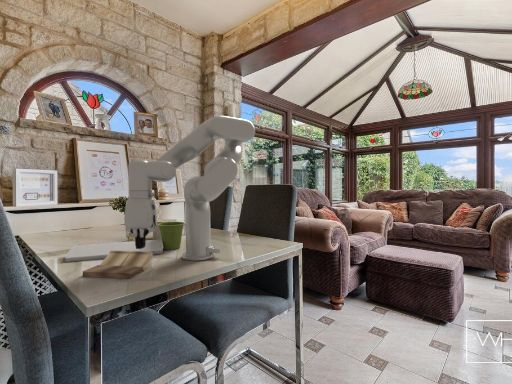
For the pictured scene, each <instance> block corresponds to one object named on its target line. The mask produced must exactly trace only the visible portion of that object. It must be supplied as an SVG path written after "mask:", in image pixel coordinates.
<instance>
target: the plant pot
mask: <svg viewBox="0 0 512 384" xmlns="http://www.w3.org/2000/svg"><path fill="white" fill-rule="evenodd" d="M185 225H186V222H183V221H164V222H160V223H157V226H158V228H159V231H160V236H161V239H162V244H163V250H169V251H171V250H177V249H180V248H181V242H182V237H183V230H184V226H185Z"/></svg>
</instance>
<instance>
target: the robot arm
mask: <svg viewBox="0 0 512 384" xmlns="http://www.w3.org/2000/svg"><path fill="white" fill-rule="evenodd" d="M255 135H256V128H255V126H254V124H253V123H252V121H250V120H248V119H244V118H237V117H232V116H226V115H215V116H212V117H210V118H208V119H207V120H205V121H203V122H202V123H201V124H200V125H198V126H197V127H196V128H195V129H193V130H192V131H191V132H190V133H188V134H187V135H186V136H185V137H184V138H182V139H181V140H180V141H179V142H177V143H176V144H175V145H174V146H173V147H171V148H170V149H169V150H168V151H166V152H165V153H164V154H163V155H162V156H160V157H158V158H157V159H156V160H155V161H154V160H153V161H148V160H145V159H143V160H141V159H134V160H133V159H132V160H130V161H129V162H128V176H127V177H128V199H127V200H126V202H125V208H124V219H123V220H124V229H125V231H126V232H129V233H131V234H132V236H133V237H134V241H135V246H136V249H142V248H144V247H145V245H146V241H147V240H146V239H147V236H148V235H149V234H150V233H153V232H155V231H156V226H158V214H157V213H158V212H157V206H156V202H155V199H152V198H153V197H155V196H156V193H155V192H153V181H154V182H157V183H165V182H170V181H172V180H173V179H174V178H175V177H176V174H177V169H178V168H180V167H181V166H183V165H184V164H186V163H188V162H190V161H193V160H194V159H197V158H198V157H199V156H200V155H201V154H202V153H203V152H204V151H205V150H206V149H208V148H209V147H210V146H212V144H214V143H215V142H216V141H217V140H220V139H222V138H223V139H224V146H223V148H222V149H221V150H220V152H219V153H218V154H217V155H215V156H214V157H213V159H211V160H210V161H209V162H208V163H207V164H206V166H205V168H204V175H202V176H201V175H200V176H194V177H191V178H189V179H188V180H187V181H186V182H185V183H184V186H183V197H184V203H185V204H184V205H185V252H184V253H182V254H181V258H182V259H183V260H187V261H193V262H194V261H206V260H210V259H212V258H214V257H215V254H221V253H222V249H221V247H217V246H216V247H214V245H213V243H211V238H212V237H211V206H210V202H212V201H215V200H216V199H217V198H218V197H219V196H221V194H222V193H223V192H224V191H225V190H226V189H228V187H229V186H230V185H231V184H232V182H233V181H234V180H235V179H236V177H237V174H238V170H239V168H238V163H239V162H240V161H241V159H242V157H243V144H244V143H245V142H249V141H251V140H252V139H253V138H254V137H255ZM242 143H243V144H242Z"/></svg>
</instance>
